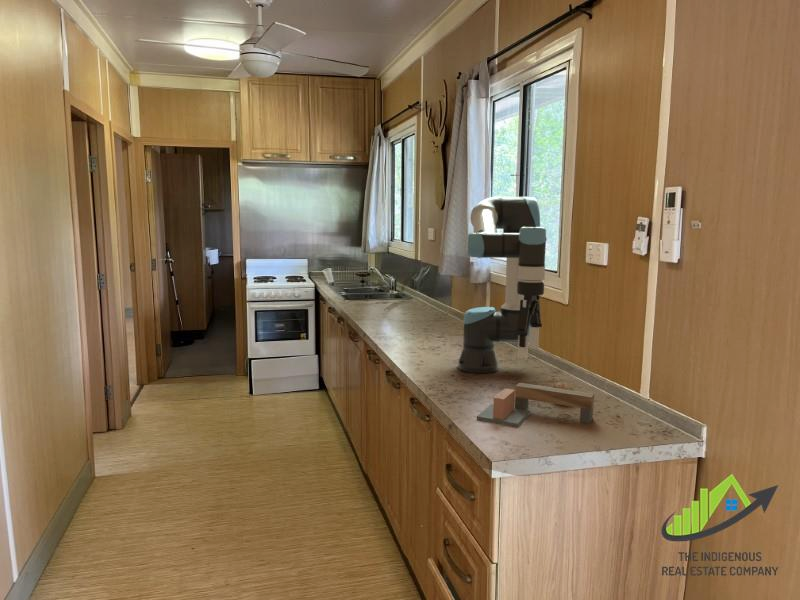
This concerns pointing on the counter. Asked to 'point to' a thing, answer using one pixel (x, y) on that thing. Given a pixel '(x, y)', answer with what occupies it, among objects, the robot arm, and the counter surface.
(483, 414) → the fulcrum
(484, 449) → the counter surface
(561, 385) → the mushroom
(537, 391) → the rod
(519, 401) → the grey blocks
